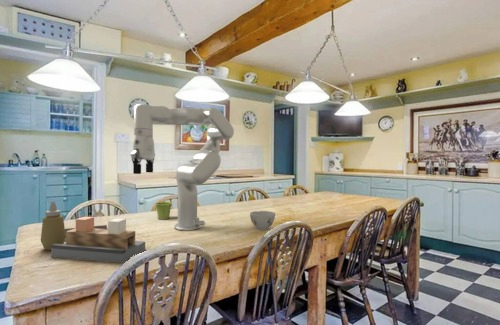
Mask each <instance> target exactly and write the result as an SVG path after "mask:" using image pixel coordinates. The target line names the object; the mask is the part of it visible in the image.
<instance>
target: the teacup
mask: <svg viewBox="0 0 500 325" xmlns="http://www.w3.org/2000/svg"><path fill="white" fill-rule="evenodd" d="M275 216H276V213H275V212H273V211H268V210H259V211H258V210H257V211H256V210H254V211H251V212H250V213H249V217H250V220H251V223H252V225H253V226H254V228H256V230H258V231H266V230H269V228H271V226H272V225H273V223H274V221H275V218H276V217H275Z"/></svg>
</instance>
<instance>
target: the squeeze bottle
mask: <svg viewBox="0 0 500 325" xmlns="http://www.w3.org/2000/svg"><path fill="white" fill-rule="evenodd" d="M41 225H42V226H41V234H40V243H41V244H42V248H43V249H44V250H45V251H51V245H52V244H64V243H65V242H66V241H65V238H66V235H65V229H66V227H65V219H64V216H63V215H61V210H60V209H58V208H57V204H56V202H55V201H51V202H50V206H49V210H47V211H45V216H44V217H43V218H42V224H41Z"/></svg>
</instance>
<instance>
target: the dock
mask: <svg viewBox="0 0 500 325" xmlns="http://www.w3.org/2000/svg"><path fill="white" fill-rule="evenodd" d="M145 250H146V241H142V240H135V245H128V249H118V248H106V247H93V246H80V245H67V244H66V242H64V244H52V245H51V250H50V254H51V257H52V258H61V259H73V260H82V261H83V260H84V261H85V260H86V261H94V260H95V261H97V262H106V261H108V263H117V262H120V263H119V264H123V263H126V262H127V261H128V259H129V258H130V257H132V256H133V255H135V254H137V255H138V254H140V253H141V252H143V251H145ZM135 256H136V255H135ZM133 257H134V256H133ZM133 257H132V258H133ZM130 259H131V258H130ZM130 259H129V260H130Z"/></svg>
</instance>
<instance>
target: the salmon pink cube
mask: <svg viewBox="0 0 500 325" xmlns="http://www.w3.org/2000/svg"><path fill="white" fill-rule="evenodd" d="M94 226H95V217H94V216H82V217H79V218H76V219H75V228H76V231H77V232H87V231H90V230H93V229H94Z"/></svg>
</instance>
